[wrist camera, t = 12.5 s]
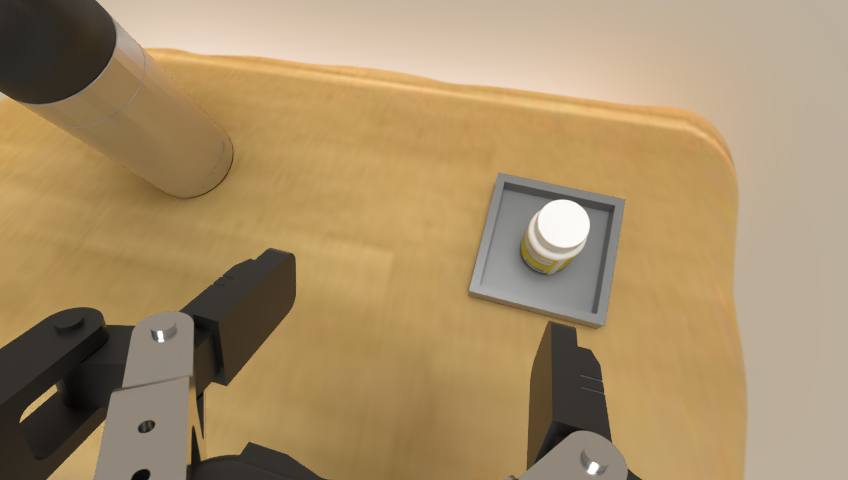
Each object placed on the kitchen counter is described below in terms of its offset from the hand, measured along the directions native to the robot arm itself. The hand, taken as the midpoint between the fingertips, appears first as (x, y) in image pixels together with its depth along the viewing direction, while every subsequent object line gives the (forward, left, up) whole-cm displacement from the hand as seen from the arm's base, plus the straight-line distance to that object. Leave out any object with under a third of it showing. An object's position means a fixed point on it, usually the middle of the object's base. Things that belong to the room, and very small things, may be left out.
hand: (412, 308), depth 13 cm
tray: (+7, +12, -28) cm, 31 cm away
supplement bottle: (+7, +11, -28) cm, 31 cm away
